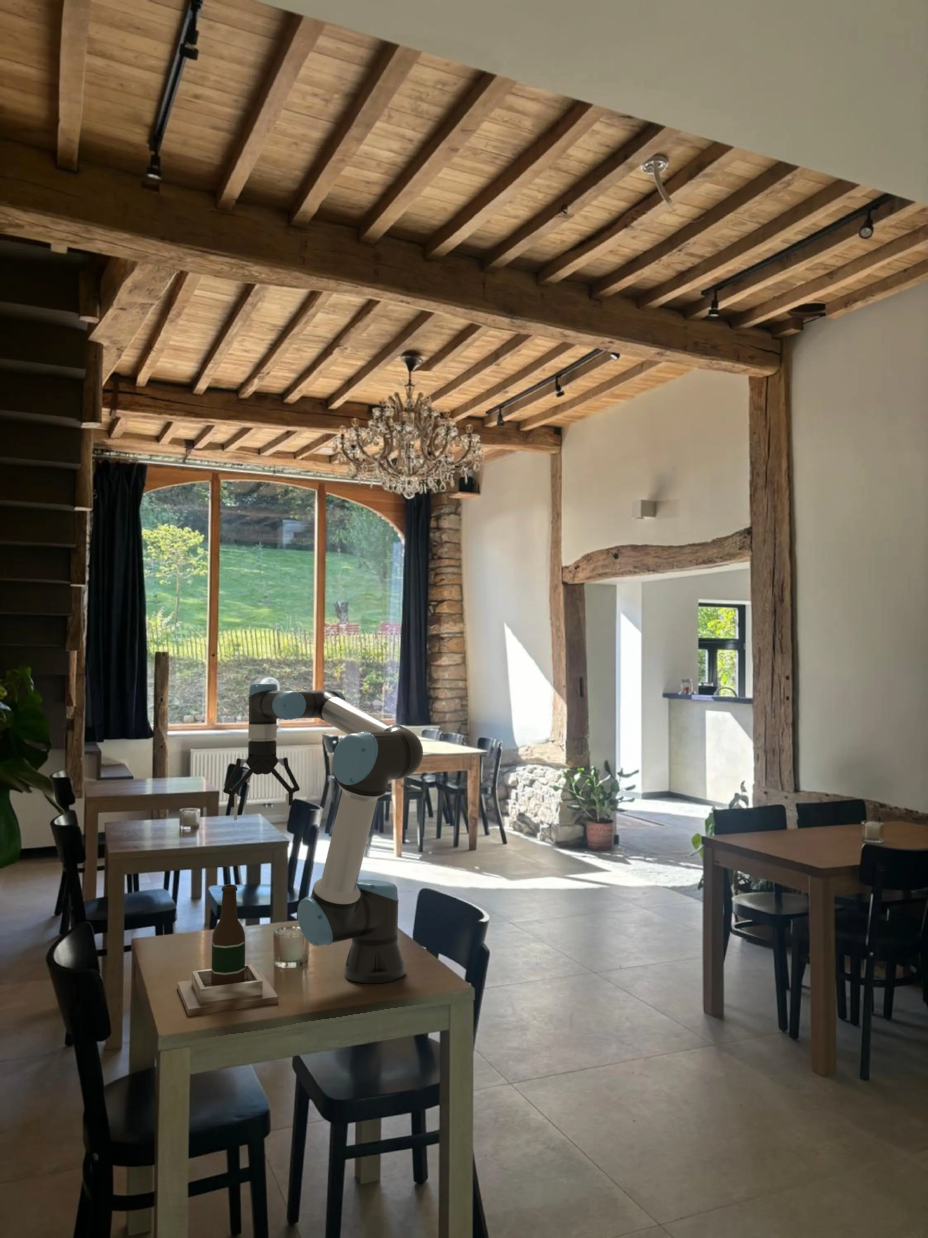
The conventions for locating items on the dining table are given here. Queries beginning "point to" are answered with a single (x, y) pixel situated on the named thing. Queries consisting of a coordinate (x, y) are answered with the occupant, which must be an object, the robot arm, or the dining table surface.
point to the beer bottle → (228, 943)
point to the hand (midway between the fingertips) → (261, 818)
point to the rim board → (225, 993)
